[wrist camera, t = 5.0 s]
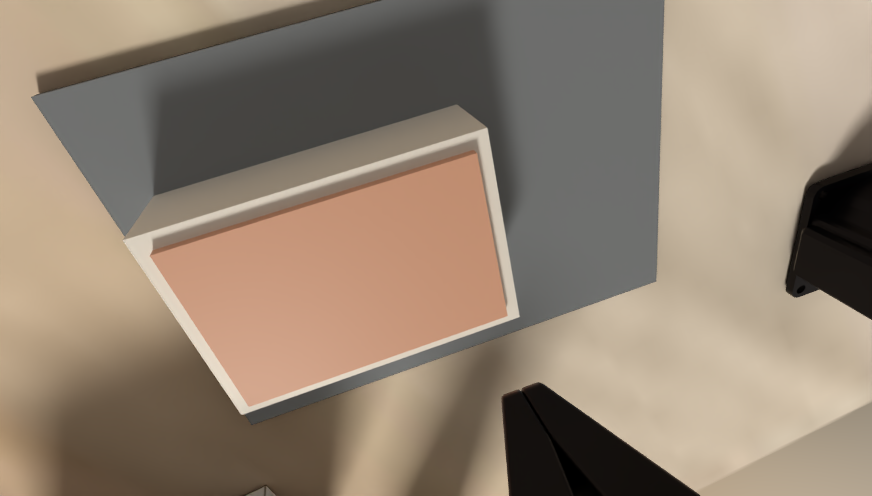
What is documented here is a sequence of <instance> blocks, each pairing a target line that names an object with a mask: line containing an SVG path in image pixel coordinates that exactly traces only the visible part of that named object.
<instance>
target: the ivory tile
mask: <svg viewBox="0 0 872 496" xmlns="http://www.w3.org/2000/svg"><path fill="white" fill-rule="evenodd" d="M123 241H124V243H125V244H126V246H127V247H128V249H129V250H130V252H131V253H132V255H133V256H134V258H135V259H136V261H137V262H138V264H139V265H140V266H141V268H142V269H143V271H144V272H145V274H146V275H147V277H148V278H149V280H150V281H151V283H152V284H153V286H154V287H155V289H156V290H157V292H158V293H159V294H160V296H161V297H162V299H163V300H164V302H165V303H166V305H167V306H168V308H169V309H170V311H171V312H172V314H173V315H174V317H175V318H176V320H177V321H178V322H179V324H180V325H181V327H182V328H183V330H184V331H185V333H186V334H187V336H188V337H189V339H190V340H191V342H192V343H193V345H194V346H195V347H196V349H197V350H198V352H199V353H200V355H201V356H202V358H203V359H204V361H205V362H206V364H207V365H208V367H209V368H210V370H211V371H212V373H213V374H214V375H215V377H216V378H217V380H218V381H219V383H220V384H221V386H222V387H223V389H224V390H225V392H226V393H227V395H228V396H229V398H230V399H231V401H232V402H233V403H234V405H235V406H236V408H237V409H238V411H239V412H240V414H241V415H243V414H246V413H249V412H252V411H254V410H257V409H260V408H263V407H266V406H269V405H272V404H274V403H277V402H280V401H283V400H286V399H289V398H291V397H294V396H297V395H300V394H303V393H306V392H308V391H311V390H314V389H317V388H320V387H323V386H325V385H328V384H331V383H334V382H337V381H340V380H342V379H345V378H348V377H351V376H354V375H357V374H359V373H362V372H365V371H368V370H371V369H374V368H376V367H379V366H382V365H385V364H388V363H391V362H393V361H396V360H399V359H402V358H405V357H408V356H410V355H413V354H416V353H419V352H422V351H425V350H428V349H430V348H433V347H436V346H439V345H442V344H445V343H447V342H450V341H453V340H456V339H459V338H462V337H464V336H467V335H470V334H473V333H476V332H479V331H481V330H484V329H487V328H490V327H493V326H496V325H498V324H501V323H504V322H507V321H510V320H513V319H515V318H518V317H520V316H519V310H518V304H517V298H516V292H515V287H514V281H513V275H512V269H511V263H510V257H509V251H508V246H507V240H506V234H505V228H504V222H503V216H502V211H501V205H500V199H499V193H498V187H497V181H496V175H495V170H494V164H493V158H492V152H491V146H490V140H489V134H488V129H487V127H486V126H485V125H483V124H482V123H481V122H479V121H478V120H477V119H475V118H474V117H473V116H472V115H470V114H469V113H468V112H466V111H465V110H464V109H462V108H461V107H460V106H458V105H457V104H456V105H453V106H450V107H446V108H443V109H440V110H437V111H433V112H430V113H427V114H423V115H420V116H417V117H413V118H410V119H407V120H403V121H400V122H397V123H393V124H390V125H387V126H384V127H380V128H377V129H374V130H370V131H367V132H364V133H360V134H357V135H354V136H350V137H347V138H344V139H340V140H337V141H334V142H331V143H327V144H324V145H321V146H317V147H314V148H311V149H307V150H304V151H301V152H297V153H294V154H291V155H288V156H284V157H281V158H278V159H274V160H271V161H268V162H264V163H261V164H258V165H254V166H251V167H248V168H244V169H241V170H238V171H235V172H231V173H228V174H225V175H221V176H218V177H215V178H211V179H208V180H205V181H201V182H198V183H195V184H191V185H188V186H185V187H182V188H178V189H175V190H172V191H168V192H165V193H162V194H158V195H155V196H153V197H152V199H151V200H150V202H149V203H148V205H147V206H146V207H145V209H144V210H143V212H142V213H141V215H140V216H139V218H138V219H137V220H136V222H135V223H134V225H133V226H132V228H131V229H130V231H129V232H128V233H127V235H126V236H125V238H124V239H123Z"/></svg>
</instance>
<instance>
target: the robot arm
mask: <svg viewBox="0 0 872 496" xmlns="http://www.w3.org/2000/svg"><path fill="white" fill-rule="evenodd" d="M819 289H820V290H822V291H823V292H825V293H827V294H828V295H830V296H832V297H834V298H835V299H837V300H839V301H840V302H842V303H844V304H845V305H847V306H849V307H851V308H852V309H854V310H856V311H857V312H859V313H861V314H862V315H864V316H866V317H868V318H869V319H871V320H872V164H869V165H866V166H863V167H860V168H857V169H855V170H852V171H849V172H846V173H843V174H840V175H837V176H834V177H831V178H828V179H826V180H823V181H820V182H817V183H815V184H813V185H812V186H811V187H810V188H809V189H808V191H807V193H806V196H805V200H804V205H803V210H802V215H801V219H800V224H799V229H798V233H797V238H796V243H795V248H794V252H793V257H792V262H791V266H790V271H789V276H788V281H787V285H786V292H787V293H788V294H790V295H792V296H793V297H800V296H803V295H806V294H808V293H811V292H814V291H817V290H819ZM502 413H503V425H504V438H505V450H506V462H507V474H508V487H509V496H700V495H699V494H698V493H696V492H695V491H694V490H692V489H691V488H689V487H688V486H687V485H685V484H684V483H682V482H681V481H679V480H678V479H677V478H675V477H674V476H672V475H671V474H670V473H668V472H667V471H665V470H664V469H663V468H661V467H660V466H658V465H657V464H655V463H654V462H653V461H651V460H650V459H648V458H647V457H646V456H644V455H643V454H641V453H640V452H638V451H637V450H636V449H634V448H633V447H631V446H630V445H629V444H627V443H626V442H624V441H623V440H622V439H620V438H619V437H617V436H616V435H614V434H613V433H612V432H610V431H609V430H607V429H606V428H605V427H603V426H602V425H600V424H599V423H598V422H596V421H595V420H593V419H592V418H590V417H589V416H588V415H586V414H585V413H583V412H582V411H581V410H579V409H578V408H576V407H575V406H574V405H572V404H571V403H569V402H568V401H566V400H565V399H564V398H562V397H561V396H559V395H558V394H557V393H555V392H554V391H552V390H551V389H550V388H548V387H547V386H545V385H544V384H542V383H539V382H538V383H534V384H532V385H529V386H526V387H524V388H522V390H521V391H520V390H515V391H513V392H510V393H507V394H504V395H503V396H502Z"/></svg>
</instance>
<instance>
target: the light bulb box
mask: <svg viewBox="0 0 872 496" xmlns="http://www.w3.org/2000/svg"><path fill="white" fill-rule="evenodd" d="M245 496H276V495H275V494H274V493H273V492H272V491H271V490H270V489H269V488H268V487H267V486H264V487H263V488H261V489H258V490H256V491H254V492H252V493H250V494H248V495H245Z"/></svg>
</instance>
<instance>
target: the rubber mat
mask: <svg viewBox="0 0 872 496" xmlns="http://www.w3.org/2000/svg"><path fill="white" fill-rule="evenodd" d="M663 28H664V0H379V1H375V2H372V3H368V4H364V5H361V6H357V7H353V8H350V9H346V10H342V11H339V12H335V13H332V14H328V15H324V16H321V17H317V18H313V19H310V20H306V21H302V22H299V23H295V24H292V25H288V26H284V27H281V28H277V29H273V30H270V31H266V32H262V33H259V34H255V35H252V36H248V37H244V38H241V39H237V40H233V41H230V42H226V43H222V44H219V45H215V46H211V47H208V48H204V49H201V50H197V51H193V52H190V53H186V54H182V55H179V56H175V57H171V58H168V59H164V60H161V61H157V62H153V63H150V64H146V65H142V66H139V67H135V68H131V69H128V70H124V71H121V72H117V73H113V74H110V75H106V76H102V77H99V78H95V79H91V80H88V81H84V82H81V83H77V84H73V85H70V86H66V87H62V88H59V89H55V90H51V91H48V92H44V93H41V94H37V95H35V96H33V97H31V98H32V99H33V101H34V102H35V104H36V105H37V107H38V108H39V110H40V111H41V113H42V114H43V116H44V117H45V119H46V120H47V122H48V123H49V125H50V126H51V128H52V129H53V131H54V132H55V134H56V135H57V137H58V138H59V140H60V141H61V143H62V144H63V145H64V147H65V148H66V150H67V151H68V153H69V154H70V156H71V157H72V159H73V160H74V162H75V163H76V165H77V166H78V168H79V169H80V171H81V172H82V174H83V175H84V177H85V178H86V180H87V181H88V183H89V184H90V186H91V187H92V189H93V190H94V192H95V193H96V195H97V196H98V197H99V199H100V200H101V202H102V203H103V205H104V206H105V208H106V209H107V211H108V212H109V214H110V215H111V217H112V218H113V220H114V221H115V223H116V224H117V226H118V227H119V229H120V230H121V232H122V233H123V235H124V236H126V235H127V233H128V232H129V231H130V229H131V228H132V226H133V225H134V223H135V222H136V220H137V219H138V218H139V216H140V215H141V213H142V212H143V210H144V209H145V207H146V206H147V205H148V203H149V202H150V200H151V199H152V197H153V196H155V195H158V194H162V193H165V192H168V191H172V190H175V189H178V188H182V187H185V186H188V185H191V184H195V183H198V182H201V181H205V180H208V179H211V178H215V177H218V176H221V175H225V174H228V173H231V172H235V171H238V170H241V169H244V168H248V167H251V166H254V165H258V164H261V163H264V162H268V161H271V160H274V159H278V158H281V157H284V156H288V155H291V154H294V153H297V152H301V151H304V150H307V149H311V148H314V147H317V146H321V145H324V144H327V143H331V142H334V141H337V140H340V139H344V138H347V137H350V136H354V135H357V134H360V133H364V132H367V131H370V130H374V129H377V128H380V127H384V126H387V125H390V124H393V123H397V122H400V121H403V120H407V119H410V118H413V117H417V116H420V115H423V114H427V113H430V112H433V111H437V110H440V109H443V108H446V107H450V106H453V105H456V104H457V105H458V106H460V107H461V108H462V109H464V110H465V111H466V112H468V113H469V114H470V115H472V116H473V117H474V118H475V119H477V120H478V121H479V122H481V123H482V124H483V125H485V126H486V127H487V129H488V134H489V140H490V146H491V152H492V158H493V164H494V170H495V175H496V181H497V187H498V193H499V199H500V205H501V211H502V216H503V222H504V228H505V234H506V240H507V246H508V251H509V257H510V263H511V269H512V275H513V281H514V287H515V292H516V298H517V304H518V310H519V316H520V317H518V318H515V319H513V320H510V321H507V322H504V323H501V324H498V325H496V326H493V327H490V328H487V329H484V330H481V331H479V332H476V333H473V334H470V335H467V336H464V337H462V338H459V339H456V340H453V341H450V342H447V343H445V344H442V345H439V346H436V347H433V348H430V349H428V350H425V351H422V352H419V353H416V354H413V355H410V356H408V357H405V358H402V359H399V360H396V361H393V362H391V363H388V364H385V365H382V366H379V367H376V368H374V369H371V370H368V371H365V372H362V373H359V374H357V375H354V376H351V377H348V378H345V379H342V380H340V381H337V382H334V383H331V384H328V385H325V386H323V387H320V388H317V389H314V390H311V391H308V392H306V393H303V394H300V395H297V396H294V397H291V398H289V399H286V400H283V401H280V402H277V403H274V404H272V405H269V406H266V407H263V408H260V409H257V410H254V411H252V412H249V413H246V414H245V416H246V417H247V419H248V420H249V422H250V423H251V425H253V424H256V423H259V422H262V421H265V420H267V419H270V418H273V417H276V416H279V415H281V414H284V413H287V412H290V411H293V410H296V409H298V408H301V407H304V406H307V405H310V404H312V403H315V402H318V401H321V400H324V399H326V398H329V397H332V396H335V395H338V394H341V393H343V392H346V391H349V390H352V389H355V388H357V387H360V386H363V385H366V384H369V383H371V382H374V381H377V380H380V379H383V378H386V377H388V376H391V375H394V374H397V373H400V372H402V371H405V370H408V369H411V368H414V367H417V366H419V365H422V364H425V363H428V362H431V361H433V360H436V359H439V358H442V357H445V356H447V355H450V354H453V353H456V352H459V351H462V350H464V349H467V348H470V347H473V346H476V345H478V344H481V343H484V342H487V341H490V340H492V339H495V338H498V337H501V336H504V335H507V334H509V333H512V332H515V331H518V330H521V329H523V328H526V327H529V326H532V325H535V324H537V323H540V322H543V321H546V320H549V319H552V318H554V317H557V316H560V315H563V314H566V313H568V312H571V311H574V310H577V309H580V308H583V307H585V306H588V305H591V304H594V303H597V302H599V301H602V300H605V299H608V298H611V297H613V296H616V295H619V294H622V293H625V292H628V291H630V290H633V289H636V288H639V287H642V286H644V285H647V284H650V283H653V282H656V272H657V237H658V202H659V167H660V133H661V98H662V63H663Z"/></svg>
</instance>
